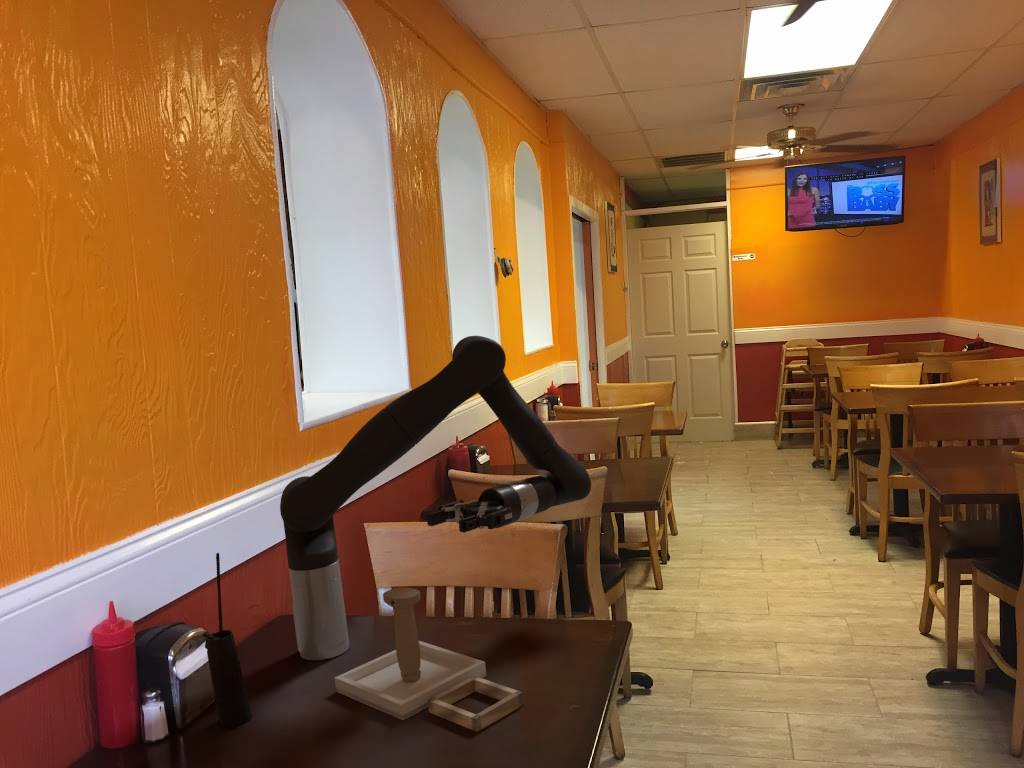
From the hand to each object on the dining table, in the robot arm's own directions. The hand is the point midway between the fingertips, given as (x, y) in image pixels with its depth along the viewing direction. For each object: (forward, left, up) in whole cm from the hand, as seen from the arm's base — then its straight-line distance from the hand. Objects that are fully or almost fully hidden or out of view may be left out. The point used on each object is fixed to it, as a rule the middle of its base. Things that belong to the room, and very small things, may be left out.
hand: (444, 523), depth 151 cm
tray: (0, -11, -25) cm, 27 cm away
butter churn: (-16, -36, -25) cm, 47 cm away
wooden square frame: (+16, -11, -25) cm, 32 cm away
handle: (0, -11, -24) cm, 27 cm away
